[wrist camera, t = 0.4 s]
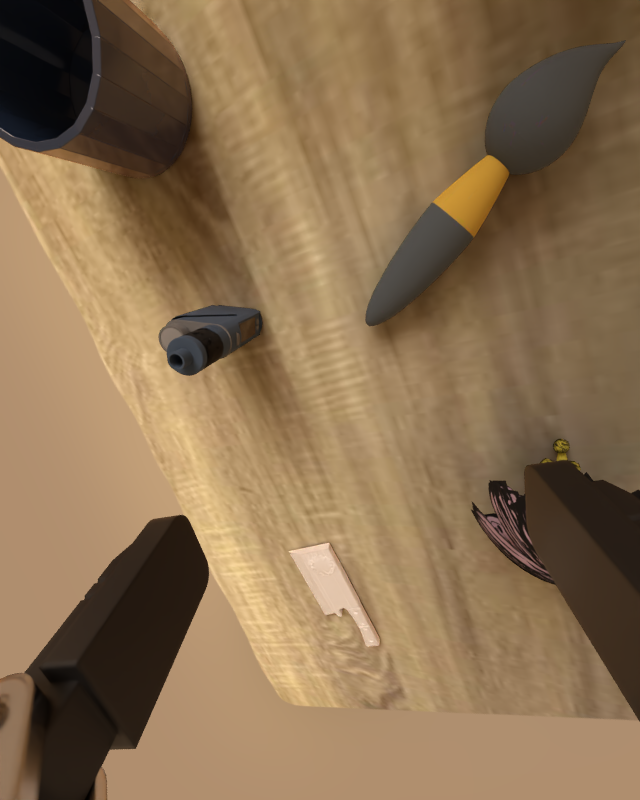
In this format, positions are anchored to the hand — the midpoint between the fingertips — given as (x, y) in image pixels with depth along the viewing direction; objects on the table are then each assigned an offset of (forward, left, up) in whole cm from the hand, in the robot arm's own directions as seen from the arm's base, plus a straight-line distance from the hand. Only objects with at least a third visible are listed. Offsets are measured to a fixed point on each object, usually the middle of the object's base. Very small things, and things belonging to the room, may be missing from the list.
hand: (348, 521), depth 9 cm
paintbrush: (-10, 0, -23) cm, 25 cm away
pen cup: (-4, -25, -23) cm, 34 cm away
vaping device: (+6, -11, -23) cm, 26 cm away
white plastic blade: (+28, +13, -23) cm, 39 cm away
